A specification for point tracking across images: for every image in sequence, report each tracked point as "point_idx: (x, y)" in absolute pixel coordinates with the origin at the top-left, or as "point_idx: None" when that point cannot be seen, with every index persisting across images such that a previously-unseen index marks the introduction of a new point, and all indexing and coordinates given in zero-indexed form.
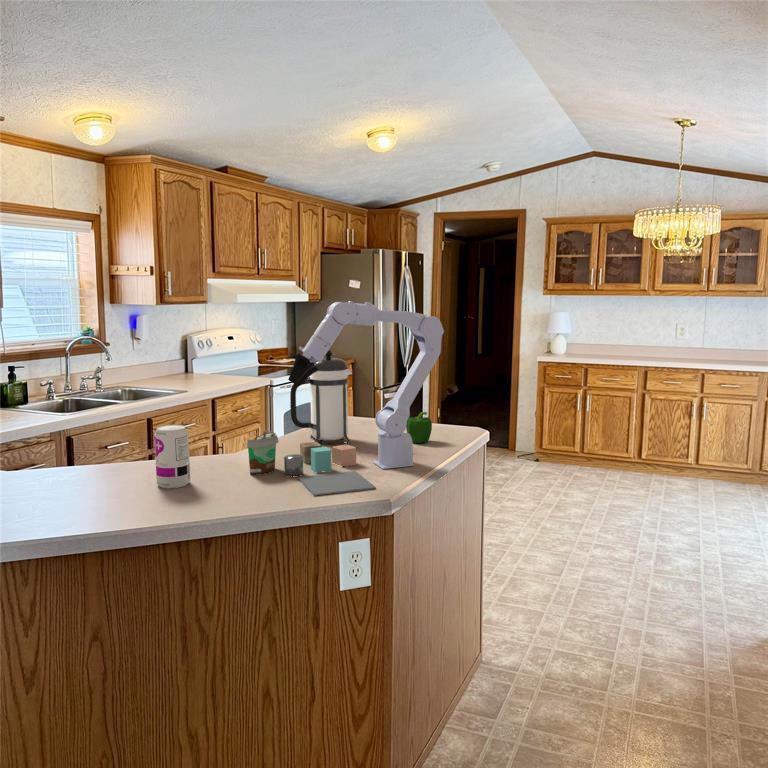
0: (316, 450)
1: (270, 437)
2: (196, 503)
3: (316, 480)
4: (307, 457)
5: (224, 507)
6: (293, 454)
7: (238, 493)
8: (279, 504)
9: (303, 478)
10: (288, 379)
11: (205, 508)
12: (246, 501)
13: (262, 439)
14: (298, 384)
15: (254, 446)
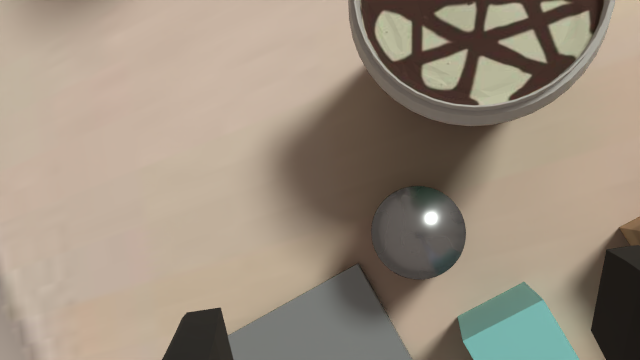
0: (496, 342)
1: (424, 96)
2: (45, 5)
3: (320, 352)
4: (637, 242)
5: (21, 110)
6: (462, 220)
7: (155, 96)
8: (66, 276)
9: (340, 292)
10: (182, 318)
11: (7, 56)
12: (81, 157)
13: (380, 65)
14: (608, 335)
15: (354, 38)
